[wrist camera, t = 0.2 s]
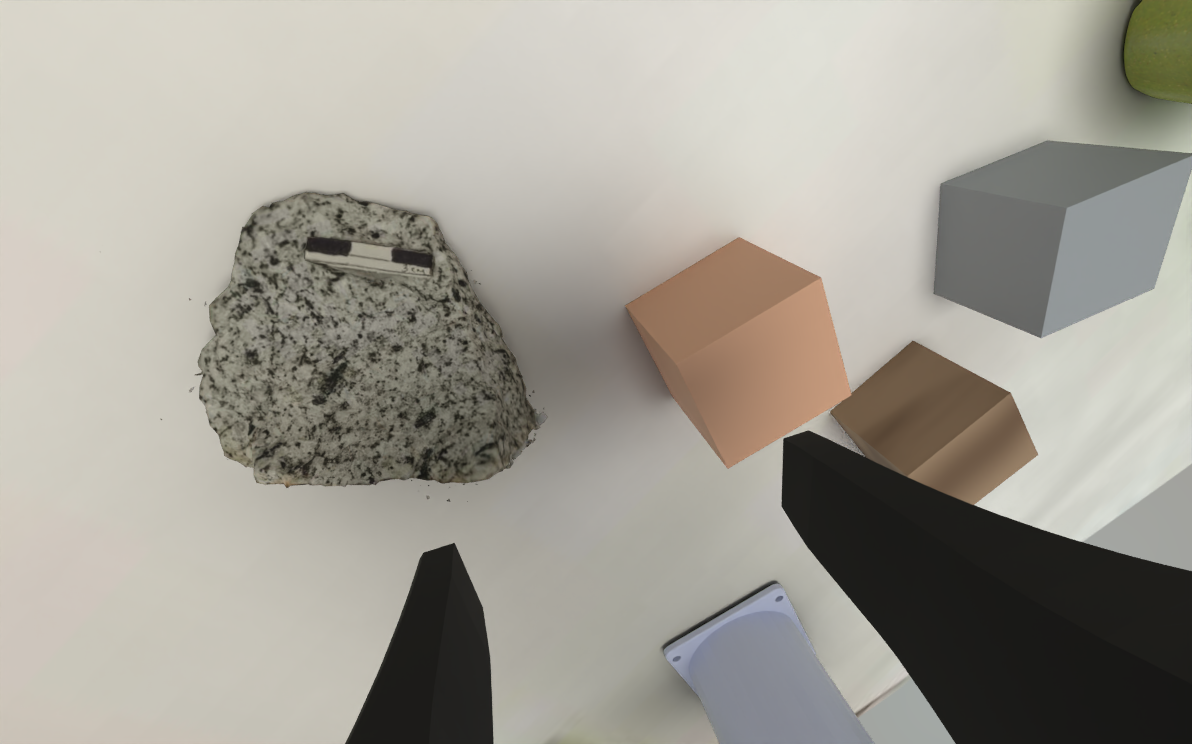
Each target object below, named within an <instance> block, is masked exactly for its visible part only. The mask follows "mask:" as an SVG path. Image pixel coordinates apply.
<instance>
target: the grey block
mask: <svg viewBox="0 0 1192 744" xmlns="http://www.w3.org/2000/svg"><path fill="white" fill-rule="evenodd" d="M1191 170H1192V153H1181V152H1169V151H1158V150H1147V149H1136V148H1124V147H1113V146H1102V145H1091V144H1079V143H1068V142H1057V141H1045V142H1043V143H1040V144H1038V145H1035V146H1033V147H1030V148H1028V149H1025V150H1023V151H1021V152H1018V153H1016V154H1013V155H1011V156H1008V157H1006V158H1003V159H1001V160H998V161H996V162H993V163H991V164H988V165H986V166H983V167H981V168H979V169H976V170H974V171H971V172H969V173H966V174H964V175H961V176H959V177H956V178H954V179H951V180H949V181H946V182H944V183H941V186H940V202H939V218H938V234H937V250H936V266H935V281H934V294H936V295H938V296H941V297H943V298H946V299H948V300H950V301H953V302H955V303H958V304H960V305H963V306H965V307H967V308H970V309H972V310H975V311H977V312H979V313H982V314H984V315H987V316H989V317H991V318H994V319H996V320H999V321H1001V322H1003V323H1006V324H1008V325H1011V326H1013V327H1015V328H1018V329H1020V330H1023V331H1025V332H1028V333H1030V334H1032V335H1035V336H1037V337H1040V338H1043V337H1045V336H1047V335H1049V334H1052V333H1054V332H1056V331H1059V330H1061V329H1063V328H1065V327H1068V326H1070V325H1072V324H1075V323H1077V322H1079V321H1081V320H1084V319H1086V318H1088V317H1090V316H1093V315H1095V314H1097V313H1100V312H1102V311H1104V310H1106V309H1109V308H1111V307H1113V306H1116V305H1118V304H1120V303H1122V302H1125V301H1127V300H1129V299H1132V298H1134V297H1136V296H1138V295H1141V294H1143V293H1145V292H1148V291H1150V290H1152V289H1154V287H1155V284H1156V281H1157V278H1158V274H1159V271H1160V268H1161V265H1162V262H1163V259H1164V255H1165V252H1166V249H1167V246H1168V243H1169V240H1170V236H1171V233H1172V230H1173V227H1174V224H1175V221H1176V217H1177V214H1178V211H1179V208H1180V205H1181V202H1182V198H1183V195H1184V192H1185V189H1186V186H1187V183H1188V179H1189V176H1190V173H1191Z"/></svg>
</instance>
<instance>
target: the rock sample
mask: <svg viewBox="0 0 1192 744" xmlns="http://www.w3.org/2000/svg"><path fill="white" fill-rule="evenodd" d="M279 201H280V200H279ZM252 214H253V215H252V216H251V218H250V219H249V221H248V222H247V224H246V225H245V227H242V231H241V236H240V241H239V245H238V248H237V250H236V253H235V262H234V266H233V270H232V277H231V282H230V284H229V286H228V288H227V289H226V290H225V291H224V292H223V293H221V294H220V295H219V296H218V297H217V298H216V299H215V300H214V301H213V302H212V303H211V304H210V305H209V315H210V322H211V324H212V327H213V329H214V331H215V334H216V336H215V337H214V338H213V339H212V340H211V341H210V342H209V343H208V344H207V345H206V346H205V347H204V348H203V349H202V351H201V354H200V357H199V360H198V366H199V368H200V369H201V370H202V372H201V373H199V374H195V375H201V374H203V377H202V381H201V384H200V391H199V399H200V400H201V401H202V403H203V404H204V405H205V407H206V413H207V415H208V419H209V424H210V426H211V427H212V428H213V429H214V430H215V431H216V433H217V434H218V435H219V438H220V443H221V446H222V448H223V451H224V456H226V457H227V458H229V459H232V460H235V461H238V462H239V463H241V464H242V465H244V466H245V467H252V468H254V477H255V480H256V482H257V483H261V484H266V485H267V484H284V485H285V486H286V488H288V487H290V486H293V485H305V484H309V485H323V486H343V487H346V485H371V484H374V485H376V484H377V483H378V482H379V481H385V480H390V479H401V480H406V479H409V478H417V479H423V480H436V481H438V482H440V483H449V482H456V483H470V482H476V481H481V480H486V479H489V478H491V477H492V476H494V475H495V474H497V473H498V472H501V471H503V469H505V468H507V469H508V468H510V467H511V466H512V464H513V463H514V462H513V461H512V459H513V460H514V459H516V457H517V456H519V455H520V454H521V453H522V450H524V449H525V447H526V446H527V447H528V446H529V444H531V442H532V443H534V440H535V438H534V440H533V441H532V440H531V439H530V440H528V434H529V433H530V432H531V430H532V429H534V430H537V429H539V428H540V425H541V424H542V423H543V422H544V421H545V420H546V419H547V416H546V414H545V413H544V412H542V413H541V414H536V409H533V408H532V406H531V404H530V403H529V401H528V400H527V398H526V387H525V384H524V382H523V379H522V378H523V377H522V375H521V373H520V371H519V369H518V366H517V364H516V359H515V357H514V356H513V354H512V353H511V352H510V351H509V349H508V348H507V346H506V344H505V343H504V341H503V339H502V331H501V328H500V327H499V325H498V324H497V323H496V322H495V321H494V320H493V318H492V317H491V316H490V315H489V314H488V312H487V311H486V310H485V309H484V308H483V306H482V305H481V304H480V302H479V300H478V298H477V296H476V295H475V293H474V291H473V290H472V288H471V286H470V283H469V280H468V277H467V272H466V271H465V270H464V268H463V267H462V266H461V264H460V262H459V260H458V258H457V256H456V255H455V254H454V253H453V252H452V251H451V250H450V248H449V247H448V246H447V244H446V243H445V241H444V238H443V235H442V233H441V231H440V229H439V227H438V225H437V223H436V221H435V220H434V219H433V218H431V217H429V216H423V215H417V214H412V213H410V212H408V211H400V210H394V209H391V208H388V207H385V206H381V205H378V204H375V203H371V202H359V201H356V200H353V199H352V198H350V197H349V196H347V195H345V194H344V193H342V194H337V195H320V194H317V193H306V192H305V193H302V194H299V195H295V196H292V197H290V198H289V199H287V200H285V201H281V202H275V203H272V204H271V205H270V207H269V208H268V207H265V206H262V207H261V208H260V209H258V210H257V211H255V212H254V213H252ZM471 271H472V270H471ZM473 281H474V280H473ZM476 282H477V281H474V283H475V284H476ZM479 284H480V283H479ZM480 285H481V284H480ZM189 300H191V299H190V298H189ZM205 305H206V301H205ZM193 389H194V387H193V388H191V389H190V390H189V392H192V390H193ZM533 392H534V390H533ZM529 396H530V395H529ZM543 409H544V408H543ZM161 420H162V419H161ZM535 435H536V434H535V433H534V436H535ZM511 458H512V459H511ZM509 463H510V465H509ZM411 481H412V480H411ZM463 485H465V484H463ZM477 485H478V484H477ZM420 486H421V485H420ZM428 486H429V485H428ZM449 488H450V487H449ZM429 498H430V497H429V496H427V499H429ZM447 501H449V502H450V499H448V500H447ZM467 502H468V501H467Z"/></svg>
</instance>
